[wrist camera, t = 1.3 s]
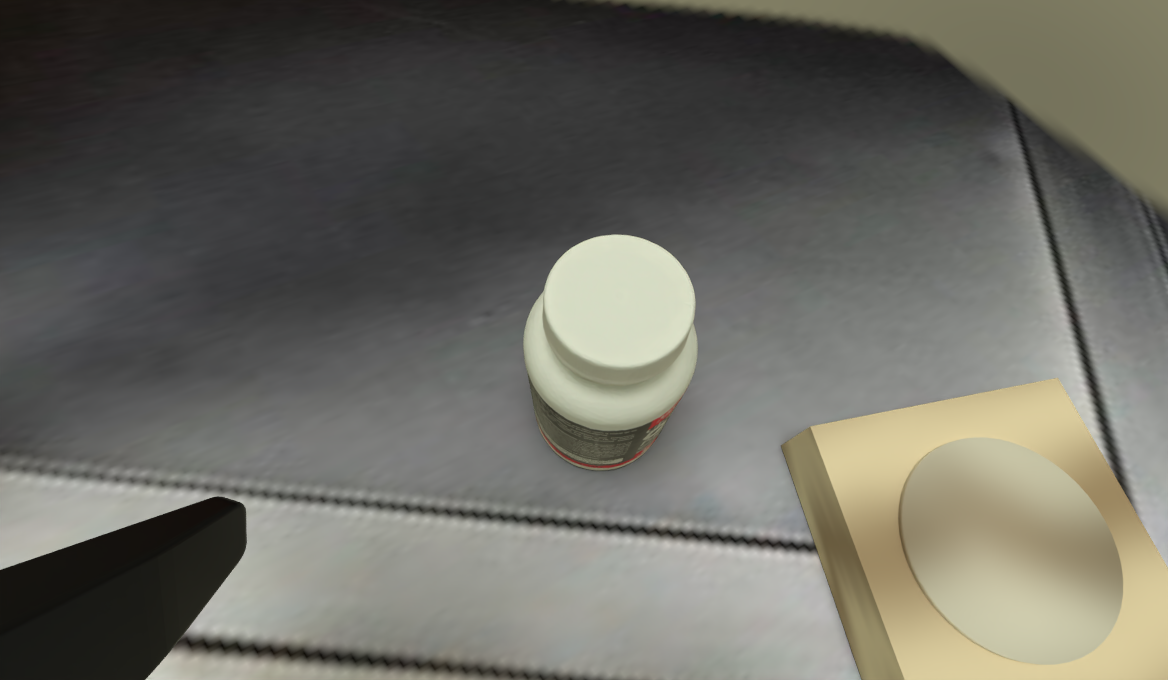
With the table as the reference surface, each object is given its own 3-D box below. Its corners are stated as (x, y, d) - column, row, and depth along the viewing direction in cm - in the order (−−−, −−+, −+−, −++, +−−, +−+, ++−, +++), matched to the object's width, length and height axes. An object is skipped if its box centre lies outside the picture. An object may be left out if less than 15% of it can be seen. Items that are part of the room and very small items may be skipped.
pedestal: (1139, 665, 20) (1243, 680, 17) (880, 733, 19) (940, 762, 16) (1001, 401, 23) (1064, 375, 20) (781, 445, 22) (813, 424, 19)
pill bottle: (660, 479, 22) (723, 407, 13) (526, 465, 22) (497, 385, 13) (665, 355, 24) (722, 220, 15) (543, 342, 24) (528, 201, 15)
